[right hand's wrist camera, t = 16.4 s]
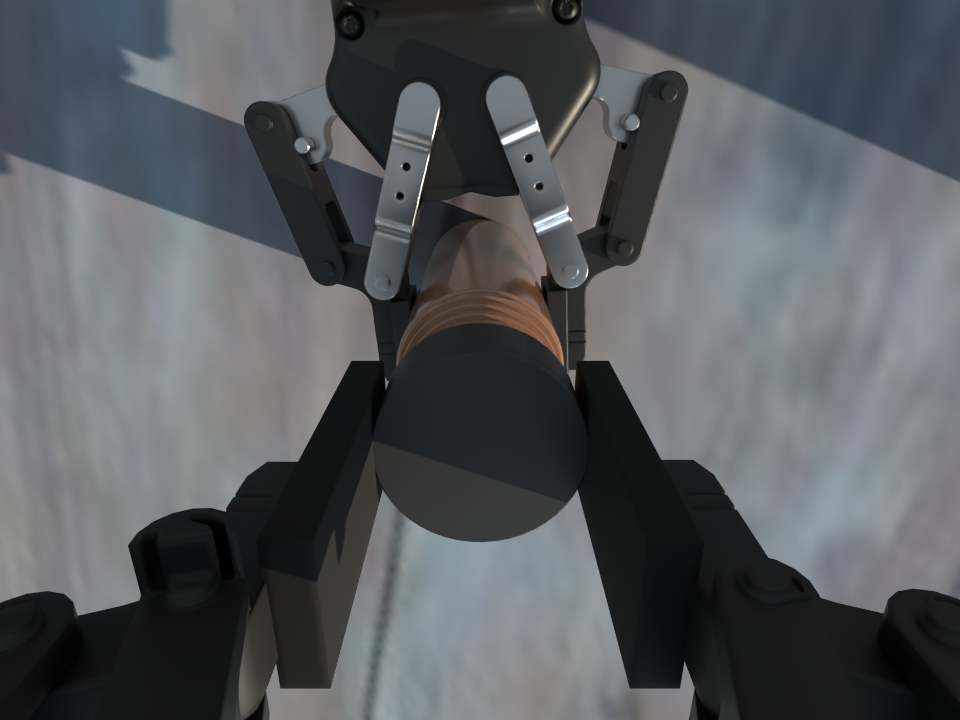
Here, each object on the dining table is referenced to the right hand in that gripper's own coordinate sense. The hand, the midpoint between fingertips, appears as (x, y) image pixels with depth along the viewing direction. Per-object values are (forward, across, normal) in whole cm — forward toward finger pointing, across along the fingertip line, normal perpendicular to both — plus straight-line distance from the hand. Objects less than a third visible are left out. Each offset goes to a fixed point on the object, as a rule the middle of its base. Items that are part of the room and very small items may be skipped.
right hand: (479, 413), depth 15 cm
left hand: (+8, 0, -3) cm, 8 cm away
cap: (-2, 0, 0) cm, 2 cm away
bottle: (+15, 0, 0) cm, 15 cm away
